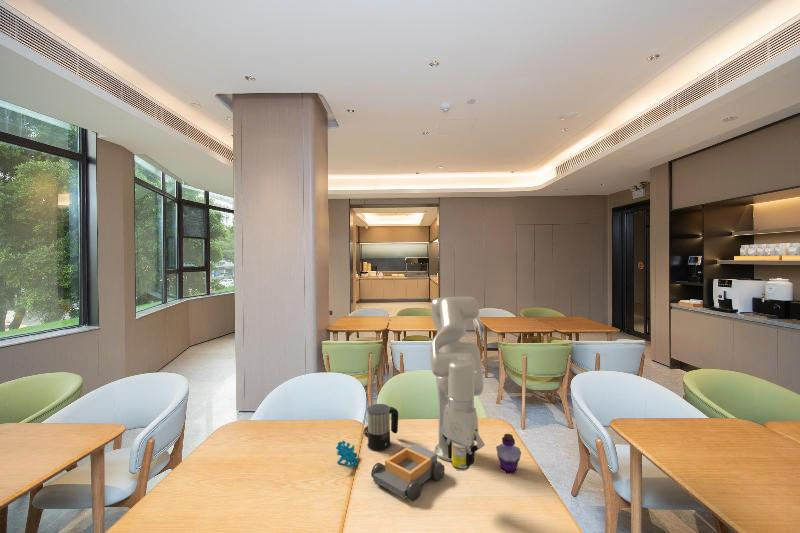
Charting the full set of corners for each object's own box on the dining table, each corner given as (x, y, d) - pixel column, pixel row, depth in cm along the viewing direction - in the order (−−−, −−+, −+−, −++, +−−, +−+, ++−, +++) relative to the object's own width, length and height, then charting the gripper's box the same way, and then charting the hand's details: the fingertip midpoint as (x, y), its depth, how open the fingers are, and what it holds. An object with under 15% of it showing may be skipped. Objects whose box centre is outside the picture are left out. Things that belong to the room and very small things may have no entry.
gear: (351, 470, 125) (334, 445, 128) (340, 480, 126) (322, 456, 128) (364, 457, 135) (348, 434, 138) (353, 467, 136) (337, 444, 139)
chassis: (408, 457, 135) (407, 439, 135) (446, 475, 124) (446, 456, 124) (369, 482, 120) (368, 463, 120) (408, 505, 109) (408, 484, 109)
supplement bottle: (457, 458, 114) (457, 427, 114) (473, 465, 111) (473, 433, 110) (448, 467, 110) (448, 434, 109) (464, 474, 106) (464, 441, 106)
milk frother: (381, 454, 138) (381, 415, 137) (349, 442, 146) (349, 406, 146) (401, 438, 150) (401, 402, 149) (370, 428, 158) (370, 394, 158)
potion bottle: (499, 459, 133) (499, 427, 133) (523, 466, 129) (523, 433, 128) (492, 472, 126) (492, 437, 125) (518, 479, 121) (518, 444, 121)
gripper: (430, 398, 112) (430, 455, 113) (480, 415, 100) (480, 478, 102) (444, 390, 117) (444, 444, 119) (493, 406, 106) (492, 465, 107)
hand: (460, 459), depth 110 cm, fingers closed on supplement bottle, 5 cm apart
